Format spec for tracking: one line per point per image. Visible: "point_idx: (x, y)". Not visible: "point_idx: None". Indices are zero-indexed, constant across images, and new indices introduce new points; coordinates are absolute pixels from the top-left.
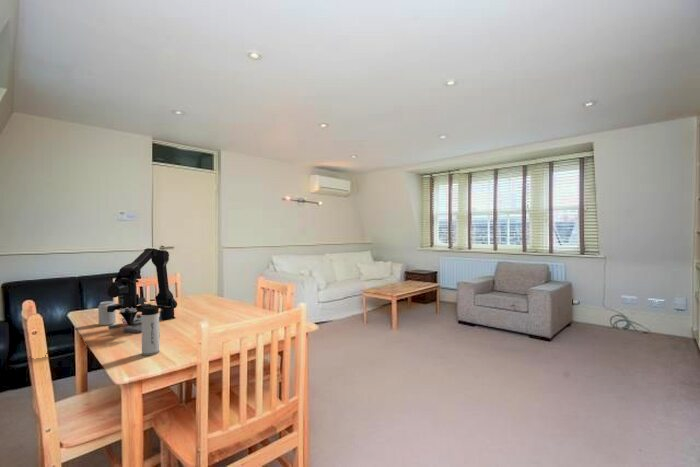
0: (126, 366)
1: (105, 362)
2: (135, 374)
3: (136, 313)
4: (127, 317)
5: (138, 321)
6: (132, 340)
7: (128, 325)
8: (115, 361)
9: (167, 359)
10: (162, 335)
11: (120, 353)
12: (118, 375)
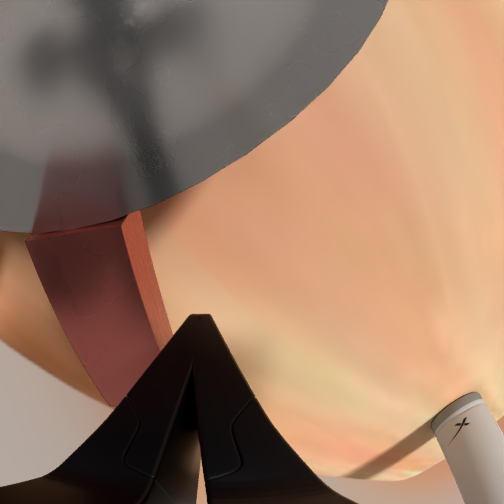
0: (405, 464)
1: (336, 476)
2: (432, 464)
3: (339, 496)
4: (192, 494)
5: (229, 163)
6: (309, 333)
7: (170, 331)
8: (363, 467)
9: (491, 411)
10: (486, 197)
11: (348, 445)
12: (401, 478)
